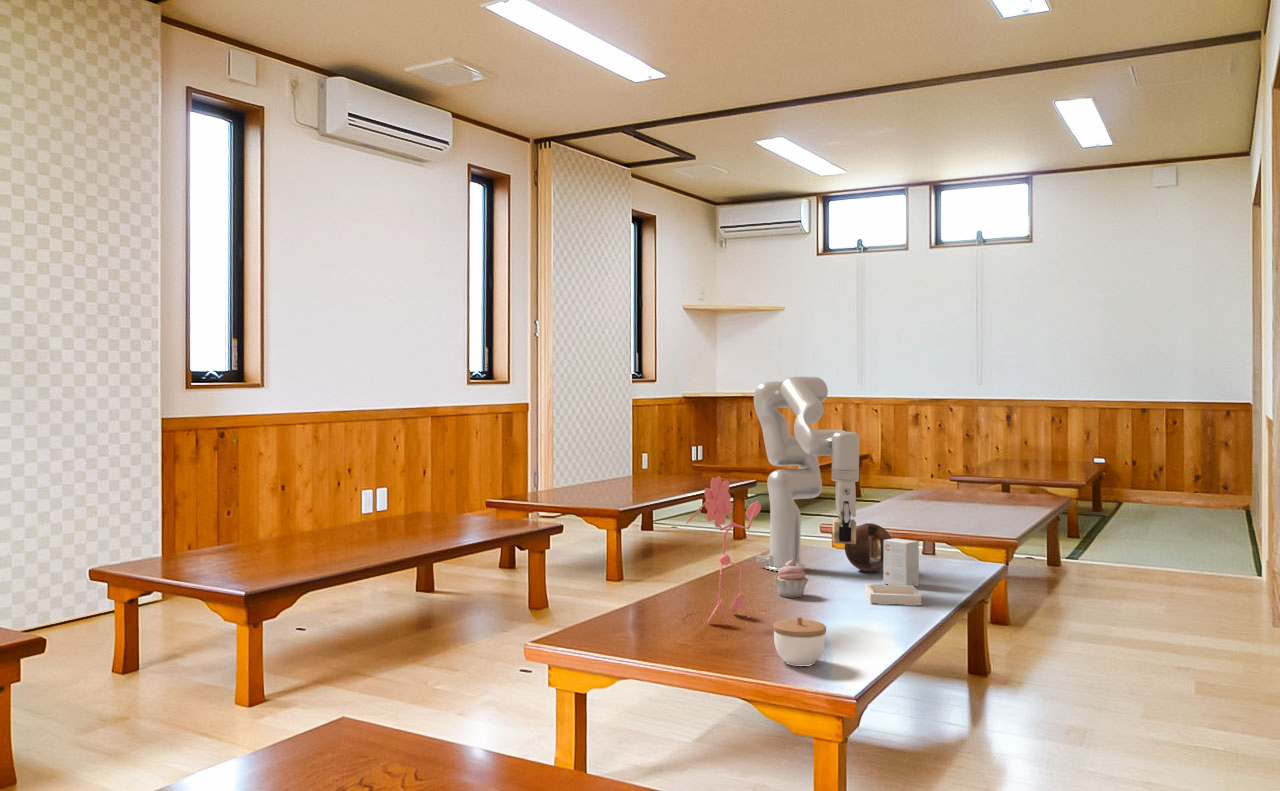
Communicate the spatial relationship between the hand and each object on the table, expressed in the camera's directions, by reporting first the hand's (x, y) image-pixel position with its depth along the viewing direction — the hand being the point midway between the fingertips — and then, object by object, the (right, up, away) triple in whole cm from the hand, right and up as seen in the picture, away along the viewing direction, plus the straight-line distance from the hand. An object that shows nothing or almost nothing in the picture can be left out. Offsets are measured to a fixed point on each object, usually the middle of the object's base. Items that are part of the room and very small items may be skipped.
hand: (844, 538), depth 260 cm
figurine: (-39, -15, -33) cm, 53 cm away
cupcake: (-16, -15, -7) cm, 23 cm away
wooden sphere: (+14, -15, +29) cm, 36 cm away
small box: (+18, -15, +8) cm, 25 cm away
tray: (+11, -15, -11) cm, 21 cm away
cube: (0, -1, 0) cm, 1 cm away
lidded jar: (-25, -15, -71) cm, 76 cm away
